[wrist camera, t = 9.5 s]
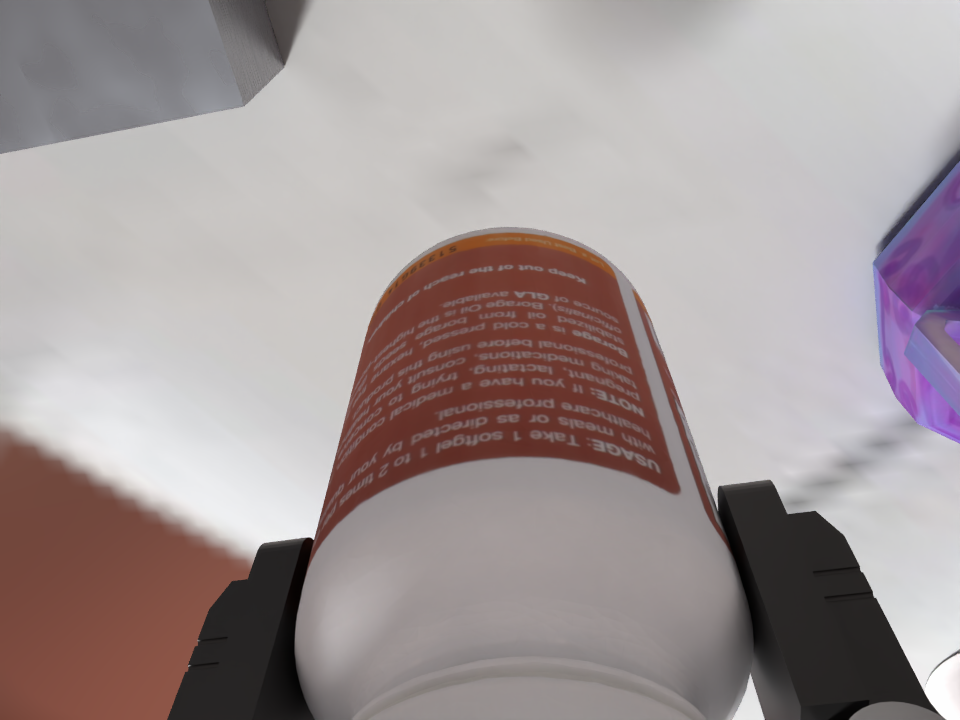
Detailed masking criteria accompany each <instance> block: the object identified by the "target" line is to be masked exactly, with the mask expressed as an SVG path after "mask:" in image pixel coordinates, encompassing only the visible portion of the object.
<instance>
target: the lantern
mask: <svg viewBox="0 0 960 720" xmlns="http://www.w3.org/2000/svg"><path fill="white" fill-rule="evenodd" d="M873 271H874V285H875V298H876V312H877V325H878V338H879V352H880V365H881V367H882V369H883V371H884V373H885V375H886V377H887V380H888V382H889V384H890V386H891V388H892V390H893V392H894V395H895V397H896V398H897V400H898V401H899V402H900V403H901V404H902V405H903V407H904V408H905V409H906V410H907V411H908V413H909V414H910V415H911V416H912V417H913V418H914V420H915V421H916V422H917V423H918V424H920V425H922V426H924V427H926V428H928V429H930V430H932V431H935V432H937V433H939V434H941V435H943V436H945V437H947V438H949V439H951V440H953V441H955V442H958V443H960V161H959V162H958V163H957V164H956V166H955V167H954V168H953V169H952V170H951V171H950V173H949V174H948V175H947V176H946V177H945V179H944V180H943V181H942V182H941V183H940V184H939V186H938V187H937V188H936V189H935V190H934V191H933V193H932V194H931V195H930V196H929V197H928V199H927V200H926V201H925V202H924V203H923V204H922V206H921V207H920V208H919V209H918V210H917V211H916V213H915V214H914V215H913V216H912V217H911V219H910V220H909V221H908V222H907V223H906V224H905V226H904V227H903V228H902V229H901V230H900V231H899V233H898V234H897V235H896V236H895V237H894V238H893V240H892V241H891V242H890V243H889V244H888V246H887V247H886V248H885V249H884V250H883V251H882V253H881V254H880V255H879V256H878V257H877V258H876V260H875V261H874V262H873Z"/></svg>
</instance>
